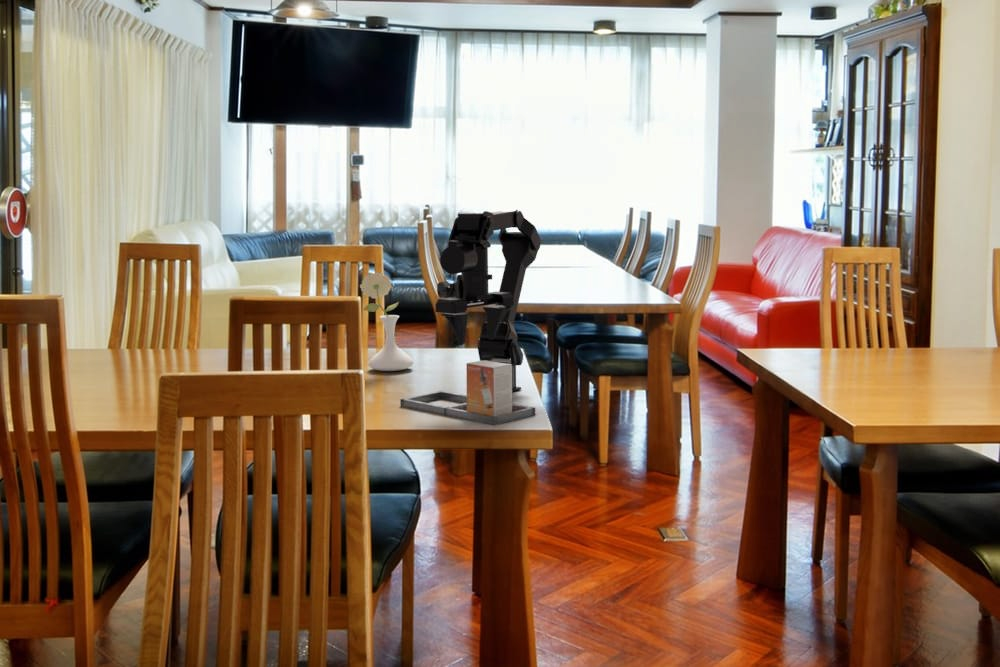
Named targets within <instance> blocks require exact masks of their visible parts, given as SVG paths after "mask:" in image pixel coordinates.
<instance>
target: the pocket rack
mask: <svg viewBox="0 0 1000 667" xmlns="http://www.w3.org/2000/svg"><path fill="white" fill-rule="evenodd" d="M399 400H400V407H403V408H408V409H414V410H418V411H423V412H427V413H432V414H438V415H443V416H446V417H452V418H457V419H462V420H466V421H472V422H477V423H480V424H481V423H482V424H487V425H490V426H497V425H501V424H504V423H509V422H513V421H516V420H521V419H524V418H525V419H526V418H527V417H528V418H529V417H532V416H536V407H535V406H534V407H533V406H528V405H524V404H523V405H522V404H517V403H512V412H509V413H505V414H501V415H497V416H491V415H486V414H481V413H476V412H470V411H467V394H463V393H462V394H461V393H458V392H457V393H455V392H451V391H445V390H439V391H433V392H428V393H423V394H419V395H415V396H409V397H405V398H401V399H399ZM437 400H445V401H446V400H447V401H452V402H456V403H457V402H458V403H460V404H456V405H450V406H444V405H438V404H434V403H428V402H432V401H437Z"/></svg>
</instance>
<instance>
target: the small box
mask: <svg viewBox="0 0 1000 667" xmlns="http://www.w3.org/2000/svg"><path fill="white" fill-rule="evenodd" d="M466 395H467V411H470V412H476V413H481V414H486V415H491V416H497V415H501V414H505V413H509V412H512V404H513V391H512V364H505V363H498V362H491V361H487V360H482V361H480V360H477V361H471V362H466Z"/></svg>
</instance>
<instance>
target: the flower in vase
mask: <svg viewBox="0 0 1000 667" xmlns="http://www.w3.org/2000/svg"><path fill="white" fill-rule="evenodd" d="M359 288H360V289H361V290H360V291H361V292H362V295H364V296H366V297H367V298H369V297H370V298H371V299H377V303H374V302H372V303H371V302H370V303H368V304H367V305H366V306H364V308H363V309H362V311H367V312H370V313H371V312H372V313H374V312H376V311H378V310H379V309H381V310H382V311H383V313H384V314H385V315H380V316H379V318H380V320H381V321H382V323H383V326H384V331H385V343H384V346H383V347H382V348H381V349H380V350H379V351H378V352H377V353H376V354H374V355H373V356H372V357H371V359H370V360H369V362H368V366H369V367H370V368H371V369H373V370H376V371H380V372H381V371H382V372H395V371H396V372H397V371H402V370H407V369H409V368H411V367H412V366H413V365H414V361H413V358H412V357H410V356H409V355H408V354H407V353H406V352H405V351H403V350H402V349H401V348H399V346H398V345H397V344H396V340H395V339H396V338H395V332H396V330H395V329H396V323H397V321H398V319H399V318H400V315H397V314H387V312H390V311H392V310H395V308H398V305H399V301H397V302H396V303H393V304H391V305H388V306H387V308H386V309H384V308H383V307H382V305H381V303H380V298H383V297H384V296H387V295H389V292H390V291H391V289H392V288H393V285H392V281H391V280H390V278H389V275H384V273H383V272H380V273H379V272H378V271H377V272H375V273H372V272H371V273H369V275H365V277H363V280H362V281H361V284H359Z"/></svg>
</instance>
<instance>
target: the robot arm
mask: <svg viewBox="0 0 1000 667" xmlns="http://www.w3.org/2000/svg"><path fill="white" fill-rule="evenodd" d="M510 228H517V230H513V229H512V230H511V229H510ZM507 229H510V230H508V231H507ZM495 231H499V234H498V237H497V238H498V240H499V242H500V244H501V253H502V255H503V257H504V260H505V266H504V270H503V274H502V277H501V278H502V279H501V281H500V282H501V283H500V285H499V290H498V291H491V292H489V280H493V274H489V260H488V259H489V258H488V257H489V256H488V248H491V246H492V245H491V242H490V241H488V240H489V238H490V237H491V236H493V235H494V232H495ZM447 243H448V244H447V245H448V246H447V247H446V248H444V249H443V251H442V253H441V255H440V257H439V263H440V266H441V268H442V269H443V270H444V272H446V273H447V274H450V275H457V276H456V282H452V283H449V281H448V280H446V281H440V282H438V283H437V288H436V292H437V296H438V299H437V300H436V302H435V303H434V304H435V313H439V315H440V316H443V317H444V318H445V319H447V321H448V322H449V324H450V326H451V328H452V330H453V333H454V336H455V339H456V342H457V344H458V345H459V346H464V342H465V339H466V332H467V331H466V330H467V324H468V320H469V319H468V318H469V313H466V311H467V309H468V308H474V307H475V308H476V307H482V309H483V311H484V313H485V314H486V321H484V322H483V323H482V325H481V331H480V334H479V336H478V341H477V352H478V358H479V361H482V360H487V361H491V362H498V363H505V364H512V392H515V391H520V390H522V387H521V386H517V367H516V366H522V364H523V360H524V353H523V351H522V349H521V347H520V345H519V343H518V337H519V336H518V335H517V332H516V330H515V329H516V328H515V327H514V324H515V319H516V315H517V310H518V305H519V301H520V297H521V293H522V289H523V284H524V279H525V275H526V271H527V268H529V266H530V265H531V264H532V263H533V262H534V261H535V260H536V259H537V255H538V251H539V250H540V248H541V244H542V243H541V236H540V234H539V232H538V230H537V229H536V226H535V225H534V224H533V223H532V222H530V221H529V220H528V219H527V218H525V216H524V215H523V212H522V211H520V210H519V209H502V210H500V211H493V212H491V211H487V210H485V211H484V210H481V211H480V210H477V211H476V210H475V211H474V210H467V211H466V210H465V211H464V210H462V211H459V212H458V213H457V216H456V217H455V219H454V222H453V225H452V228H451V231H450V234H449V238H448V241H447Z"/></svg>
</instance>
